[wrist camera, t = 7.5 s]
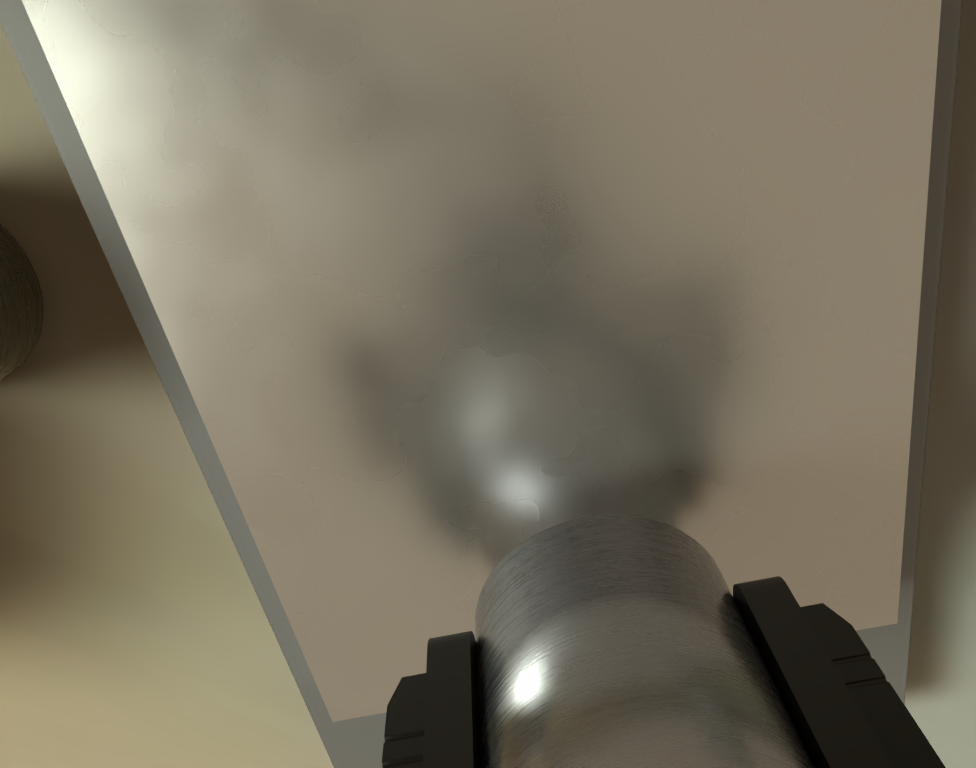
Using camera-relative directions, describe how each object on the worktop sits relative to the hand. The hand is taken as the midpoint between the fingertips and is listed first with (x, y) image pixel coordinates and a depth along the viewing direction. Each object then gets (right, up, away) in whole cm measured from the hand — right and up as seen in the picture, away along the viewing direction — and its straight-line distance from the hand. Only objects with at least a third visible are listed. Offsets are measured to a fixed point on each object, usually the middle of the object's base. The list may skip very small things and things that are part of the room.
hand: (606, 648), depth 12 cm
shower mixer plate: (-1, +5, +1) cm, 5 cm away
